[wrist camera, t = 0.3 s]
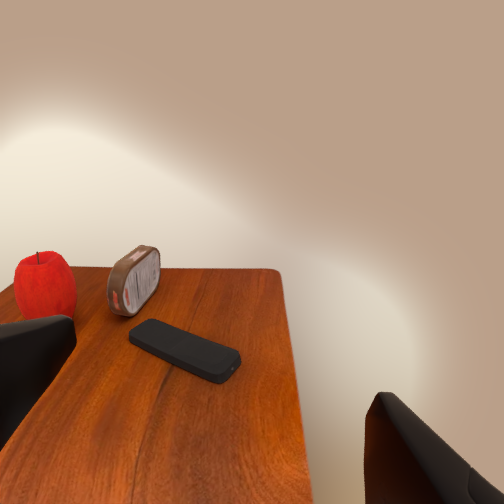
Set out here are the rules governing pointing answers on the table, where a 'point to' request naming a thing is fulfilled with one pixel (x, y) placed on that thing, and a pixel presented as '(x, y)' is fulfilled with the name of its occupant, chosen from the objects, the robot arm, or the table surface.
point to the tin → (133, 280)
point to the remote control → (186, 350)
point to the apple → (45, 286)
